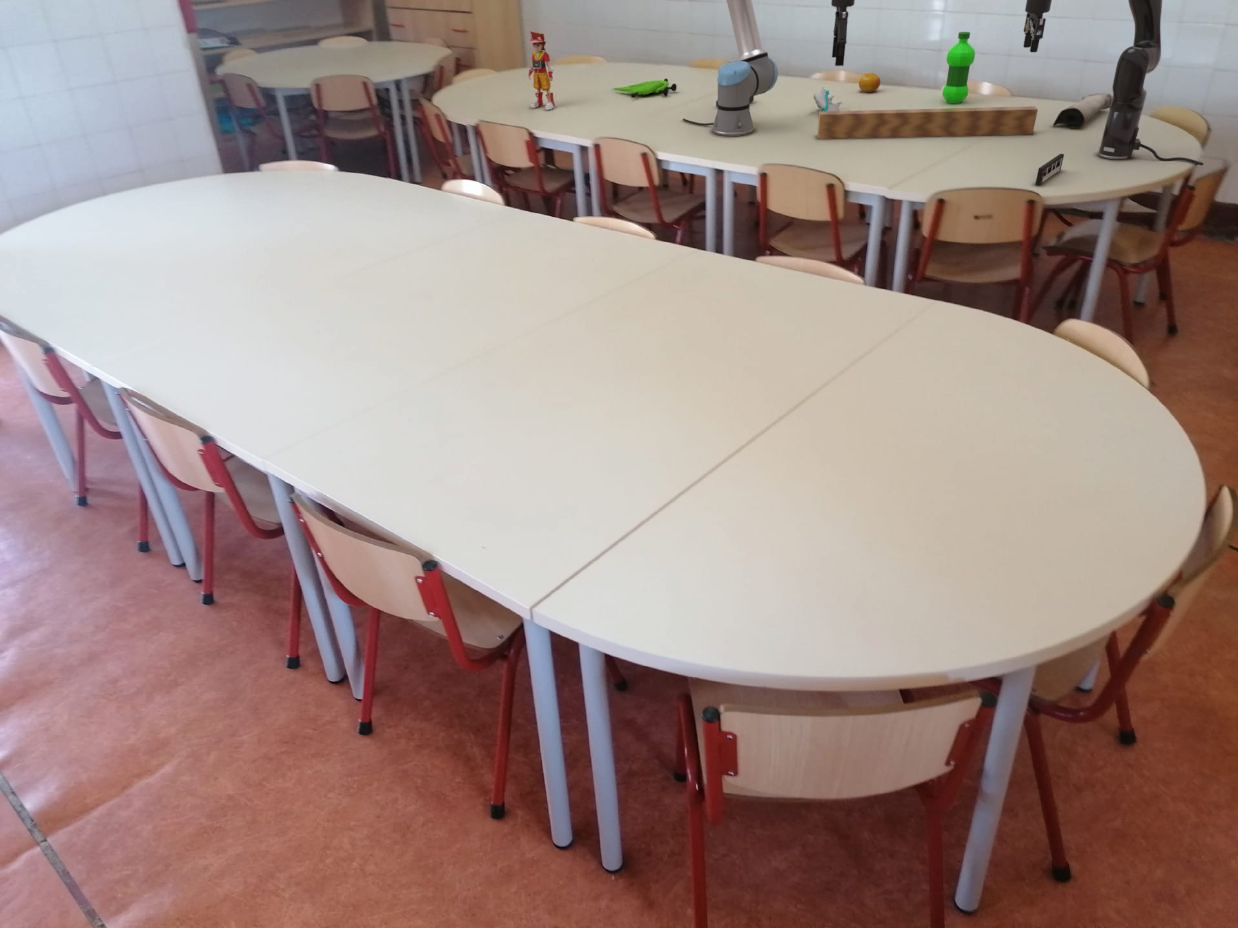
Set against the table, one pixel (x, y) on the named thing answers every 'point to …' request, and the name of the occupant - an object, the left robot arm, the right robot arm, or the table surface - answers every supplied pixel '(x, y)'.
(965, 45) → the plastic bottle
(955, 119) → the wooden plank
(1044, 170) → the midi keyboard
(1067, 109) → the rolled mat
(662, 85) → the toy
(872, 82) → the fruit
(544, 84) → the toy
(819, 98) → the anatomical model
